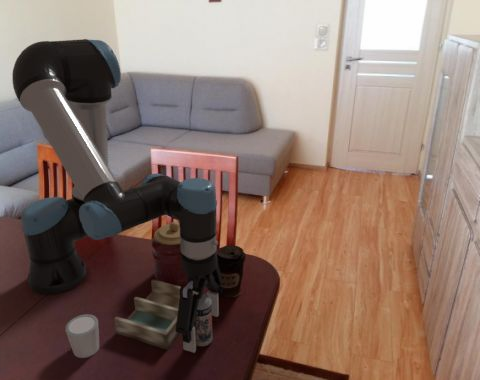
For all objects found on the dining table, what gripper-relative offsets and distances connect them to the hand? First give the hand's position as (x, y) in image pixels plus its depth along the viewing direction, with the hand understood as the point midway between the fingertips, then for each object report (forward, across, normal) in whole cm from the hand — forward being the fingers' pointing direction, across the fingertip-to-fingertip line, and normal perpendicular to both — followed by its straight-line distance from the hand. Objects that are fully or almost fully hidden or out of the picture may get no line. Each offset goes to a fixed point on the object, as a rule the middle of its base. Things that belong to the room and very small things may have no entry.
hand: (202, 331), depth 93 cm
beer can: (+3, 0, 0) cm, 3 cm away
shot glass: (+3, -12, +24) cm, 27 cm away
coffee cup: (+3, +19, +1) cm, 19 cm away
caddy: (+3, +2, +13) cm, 14 cm away
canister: (+3, +20, +18) cm, 27 cm away
